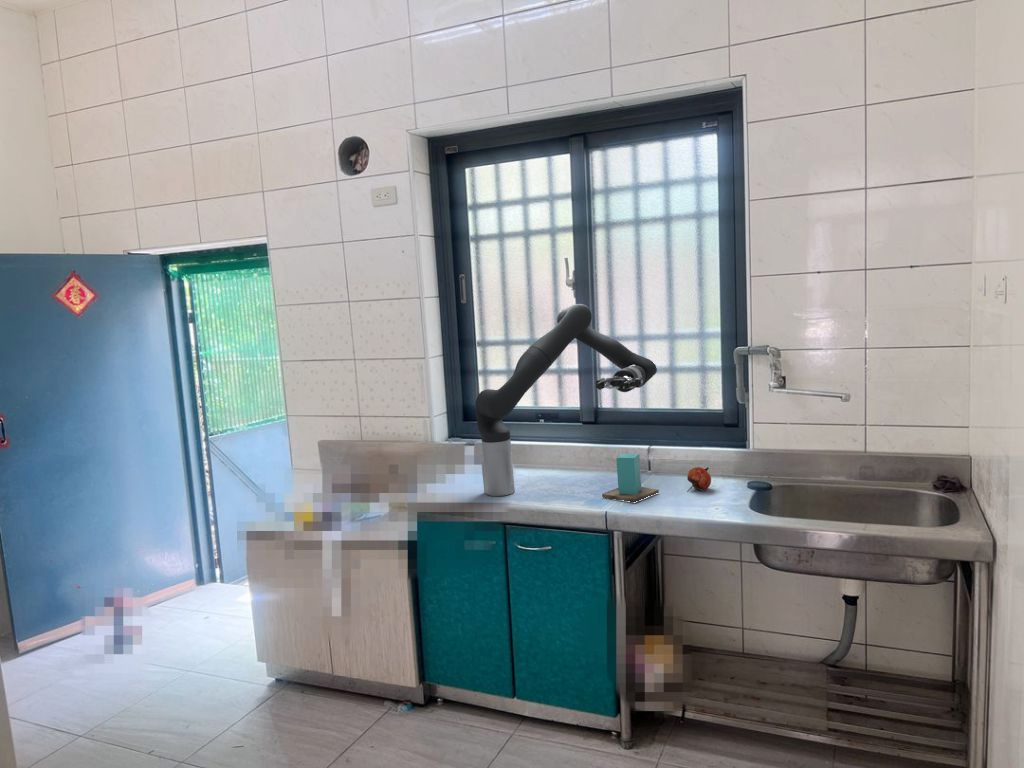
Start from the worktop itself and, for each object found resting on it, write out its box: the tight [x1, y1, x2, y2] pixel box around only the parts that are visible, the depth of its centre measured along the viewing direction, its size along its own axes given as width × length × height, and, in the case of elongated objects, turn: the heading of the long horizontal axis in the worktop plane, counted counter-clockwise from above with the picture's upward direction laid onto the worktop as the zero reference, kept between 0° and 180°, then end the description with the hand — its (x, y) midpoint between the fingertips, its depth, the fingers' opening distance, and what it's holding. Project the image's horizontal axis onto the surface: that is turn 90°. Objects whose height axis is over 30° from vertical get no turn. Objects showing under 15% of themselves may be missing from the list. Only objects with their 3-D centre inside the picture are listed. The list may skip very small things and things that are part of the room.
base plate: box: [601, 486, 660, 502], centre depth 218 cm, size 12×12×1 cm
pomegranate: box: [686, 466, 712, 493], centre depth 217 cm, size 7×7×10 cm
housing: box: [615, 453, 642, 495], centre depth 217 cm, size 5×5×11 cm
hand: (612, 386), depth 225 cm, fingers open, 8 cm apart
